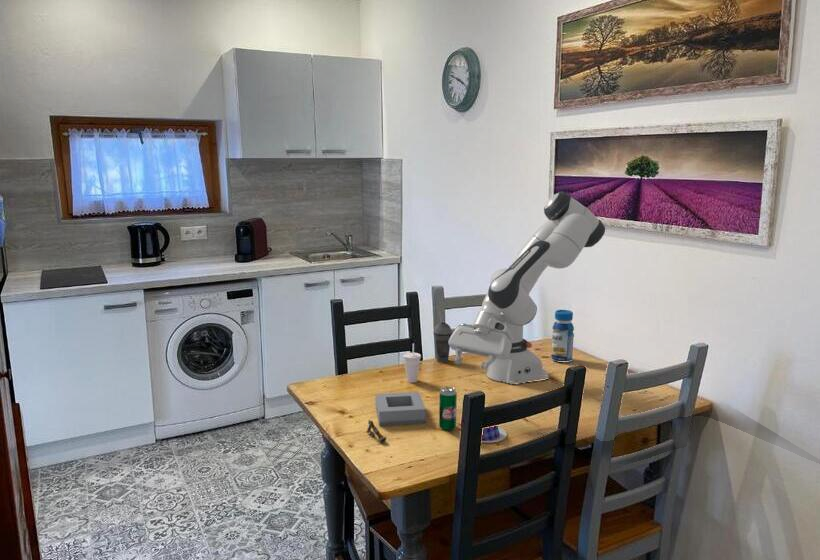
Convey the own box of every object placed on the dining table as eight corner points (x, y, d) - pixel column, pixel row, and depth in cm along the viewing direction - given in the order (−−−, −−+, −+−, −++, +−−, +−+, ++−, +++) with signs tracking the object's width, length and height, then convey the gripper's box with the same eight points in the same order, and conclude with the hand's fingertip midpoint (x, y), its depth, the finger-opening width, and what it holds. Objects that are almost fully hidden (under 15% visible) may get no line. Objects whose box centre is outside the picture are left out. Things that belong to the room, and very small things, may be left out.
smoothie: (413, 385, 212) (413, 347, 210) (399, 381, 216) (399, 344, 213) (424, 380, 217) (424, 342, 215) (410, 376, 221) (410, 339, 218)
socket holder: (418, 404, 195) (418, 391, 194) (425, 423, 181) (425, 409, 181) (375, 407, 193) (375, 394, 192) (379, 425, 180) (379, 411, 179)
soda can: (442, 432, 175) (442, 393, 173) (436, 425, 180) (437, 387, 178) (458, 430, 177) (459, 391, 174) (452, 423, 181) (453, 385, 179)
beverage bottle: (576, 363, 235) (579, 313, 232) (556, 364, 234) (558, 314, 230) (566, 356, 243) (568, 308, 240) (547, 357, 242) (549, 309, 238)
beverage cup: (448, 364, 233) (449, 315, 230) (430, 362, 236) (431, 313, 232) (453, 359, 240) (454, 310, 236) (436, 357, 243) (436, 309, 239)
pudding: (483, 422, 182) (483, 406, 181) (515, 435, 174) (515, 418, 173) (456, 435, 174) (456, 418, 173) (488, 449, 166) (489, 431, 165)
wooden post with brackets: (368, 428, 176) (372, 417, 174) (383, 448, 171) (386, 437, 169) (363, 430, 175) (366, 419, 173) (378, 450, 170) (381, 438, 168)
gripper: (455, 317, 194) (438, 354, 188) (512, 327, 182) (496, 367, 176) (462, 327, 198) (445, 363, 192) (518, 338, 186) (502, 377, 180)
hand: (470, 365), depth 184 cm, fingers open, 8 cm apart
